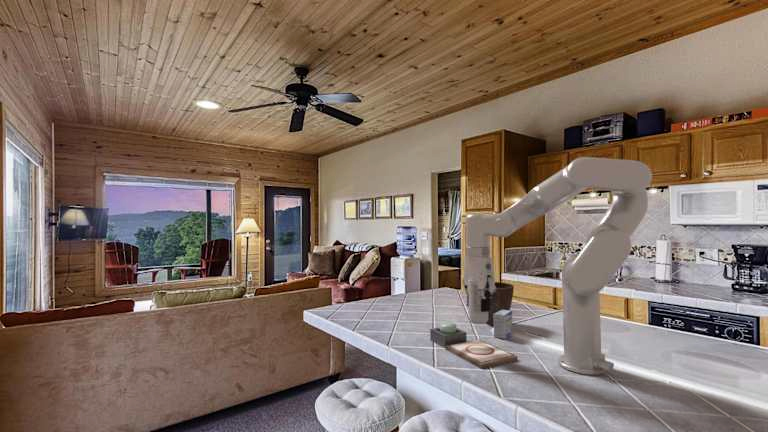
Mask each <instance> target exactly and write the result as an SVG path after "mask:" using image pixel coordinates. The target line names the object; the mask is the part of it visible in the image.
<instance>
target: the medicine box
mask: <svg viewBox="0 0 768 432" xmlns="http://www.w3.org/2000/svg"><path fill="white" fill-rule="evenodd" d="M493 322H494V326H493V337H494V338H496V339H497V338H498V339H502V340H507V339H508V338H509V337H510V336H511V335H512V334H513V333H512V332H513V311H512V310H510V311H509V310H500V311H498V312H496V313H495V314H493ZM511 333H512V334H511Z"/></svg>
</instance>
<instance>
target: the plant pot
mask: <svg viewBox="0 0 768 432" xmlns="http://www.w3.org/2000/svg"><path fill="white" fill-rule="evenodd" d="M495 287H496V289H497V290H496V291H495V292H494V294H493V295H492V298H490V311H488V321H487V323H486V325H487V326H492V327H494V322H493V314H495V313H496V312H498V311H500V310H509V311H511V307H512V302H513V298H514V288H515V285H514V284H512V283H508V282H507V283H506V282H500V281H499V282H498V281H495Z"/></svg>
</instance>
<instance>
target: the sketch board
mask: <svg viewBox="0 0 768 432" xmlns="http://www.w3.org/2000/svg"><path fill="white" fill-rule="evenodd" d="M445 350H446V351H448V352H450V353H452V354H454V355H455V356H457V357H459V358H460V359H462V360H465V362H468V363H470V364H472V365H473V366H475V367H478V369H485V368H490V367H494V366H498V365H503V364H508V363H511V362H517V361H518V356H517V355H516V354H514V353H511V352H509V351H506V350H504V349H502V348H500V347H497V346H495V345H494V344H493V345H492V344H491V343H488V342H486V341H484V340H482V339H480V338H478V339H472V340H467V341H466V342H461V343H456V344H451V345H446V346H445Z"/></svg>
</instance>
